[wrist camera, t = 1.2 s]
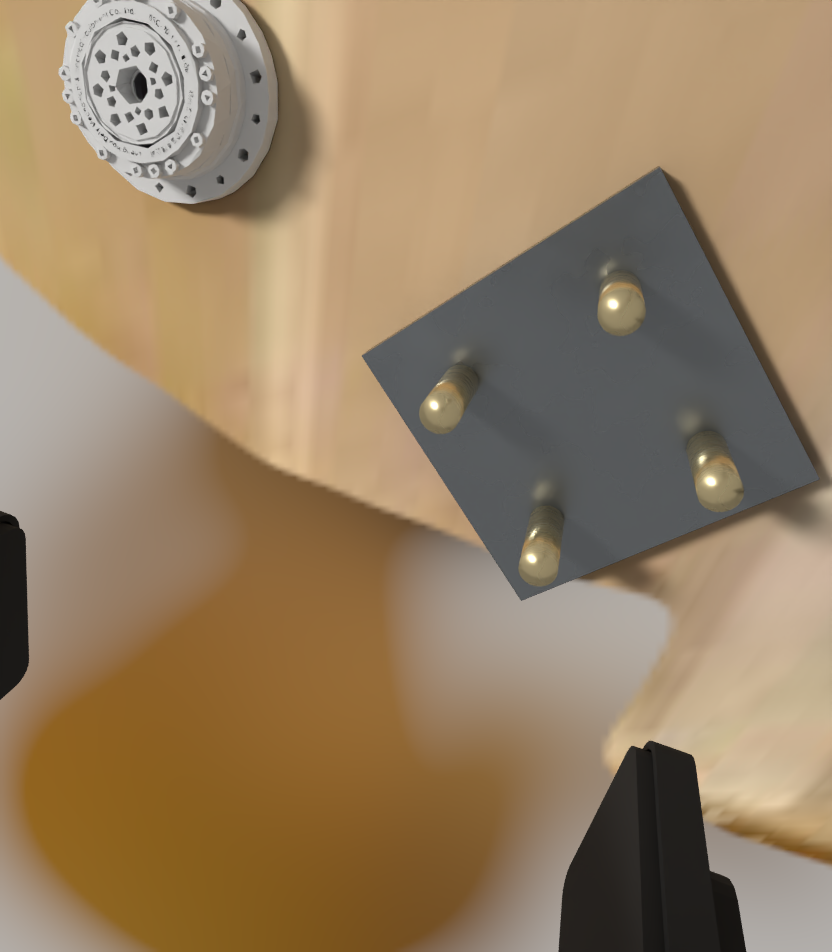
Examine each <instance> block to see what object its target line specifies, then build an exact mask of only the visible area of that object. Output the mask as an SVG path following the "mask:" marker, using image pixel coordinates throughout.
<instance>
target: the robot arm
mask: <svg viewBox="0 0 832 952" xmlns="http://www.w3.org/2000/svg"><path fill="white" fill-rule="evenodd" d="M28 663H29V646H28V613H27V575H26V538H25V533H24V531H23V530H22V529H20V528H19V522H18V521H17V519H16V518H15V517H14V516H12V515H10V514H7V513H4V512H2V511H0V700H1V699H2V698H3V697H4V696H5V695H6V694H7V693H8V692H10V691H11V690H12V689H13V688H14V687H15V686H16V685H17V684H18V683H19V682H20V681H21V679H22V678H23V676H24V674H25V672H26V671H27V667H28ZM559 952H746V947H745V941H744V935H743V929H742V923H741V918H740V911H739V905H738V900H737V896H736V892H735V888H734V886H733V884H732V883H731V881H730V879H728V878H727V877H725V876H722V875H720V874H717V873H714V872H711V871H710V870H709V862H708V854H707V847H706V839H705V832H704V824H703V817H702V810H701V802H700V795H699V787H698V780H697V772H696V765H695V761H694V758H693V756H692V755H690V754H688V753H685V752H682V751H679V750H676V749H673V748H671V747H668V746H665V745H662V744H659V743H656V742H654V741H649V742H647V743H646V745H645V746H644V748H643V749H641V748H638V747H635V746H631V747H630V748H629V750H628V751H627V753H626V755H625V757H624V759H623V761H622V763H621V765H620V767H619V769H618V771H617V773H616V775H615V777H614V779H613V781H612V783H611V785H610V787H609V789H608V791H607V793H606V795H605V797H604V799H603V801H602V803H601V805H600V807H599V809H598V811H597V813H596V815H595V817H594V819H593V821H592V823H591V825H590V827H589V829H588V831H587V833H586V835H585V837H584V839H583V841H582V843H581V845H580V847H579V849H578V851H577V853H576V855H575V857H574V859H573V861H572V862H571V865H570V867H569V869H568V872H567V875H566V879H565V883H564V888H563V895H562V909H561V923H560V938H559Z"/></svg>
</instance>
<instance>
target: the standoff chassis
mask: <svg viewBox="0 0 832 952" xmlns="http://www.w3.org/2000/svg"><path fill="white" fill-rule="evenodd" d="M362 357H363V359H364V360H365V362H366V363H367V365H368V366H369V368H370V369H371V371H372V373H373V374H374V376H375V377H376V379H377V380H378V382H379V383H380V385H381V386H382V388H383V389H384V391H385V392H386V394H387V396H388V397H389V399H390V400H391V402H392V403H393V405H394V406H395V408H396V409H397V411H398V412H399V414H400V416H401V417H402V419H403V420H404V422H405V423H406V425H407V426H408V428H409V429H410V431H411V432H412V434H413V435H414V437H415V439H416V440H417V442H418V443H419V445H420V446H421V448H422V449H423V451H424V452H425V454H426V455H427V457H428V458H429V460H430V462H431V463H432V465H433V466H434V468H435V469H436V471H437V472H438V474H439V475H440V477H441V478H442V480H443V482H444V483H445V485H446V486H447V488H448V489H449V491H450V492H451V494H452V495H453V497H454V498H455V500H456V501H457V503H458V505H459V506H460V508H461V509H462V511H463V512H464V514H465V515H466V517H467V518H468V520H469V521H470V523H471V524H472V526H473V528H474V529H475V531H476V532H477V534H478V535H479V537H480V538H481V540H482V541H483V543H484V544H485V546H486V548H487V549H488V551H489V552H490V554H491V555H492V557H493V558H494V560H495V561H496V563H497V564H498V566H499V567H500V569H501V571H502V572H503V573H504V575H505V577H506V578H507V580H508V581H509V583H510V584H511V586H512V587H513V589H514V590H515V592H516V594H517V595H518V597H519V598H520V600H521V601H522V600H525V599H527V598H529V597H532V596H534V595H537V594H539V593H542V592H544V591H547V590H549V589H551V588H554V587H556V586H559V585H561V584H564V583H566V582H569V581H571V580H574V579H576V578H579V577H581V576H583V575H586V574H588V573H591V572H593V571H596V570H598V569H601V568H603V567H606V566H608V565H610V564H613V563H615V562H618V561H620V560H623V559H625V558H628V557H630V556H633V555H635V554H637V553H640V552H642V551H645V550H647V549H650V548H652V547H655V546H657V545H660V544H662V543H664V542H667V541H669V540H672V539H674V538H677V537H679V536H682V535H684V534H687V533H689V532H691V531H694V530H696V529H699V528H701V527H704V526H706V525H709V524H711V523H714V522H716V521H718V520H721V519H723V518H726V517H728V516H731V515H733V514H736V513H738V512H741V511H743V510H745V509H748V508H750V507H753V506H755V505H758V504H760V503H763V502H765V501H768V500H770V499H772V498H775V497H777V496H780V495H782V494H785V493H787V492H790V491H792V490H795V489H797V488H799V487H802V486H804V485H807V484H809V483H812V482H814V481H817V480H819V477H818V475H817V473H816V471H815V469H814V467H813V465H812V463H811V461H810V459H809V457H808V455H807V453H806V451H805V449H804V447H803V445H802V444H801V442H800V440H799V438H798V436H797V434H796V432H795V430H794V428H793V426H792V424H791V422H790V420H789V418H788V416H787V414H786V412H785V410H784V408H783V406H782V404H781V403H780V401H779V399H778V397H777V395H776V393H775V391H774V389H773V387H772V385H771V383H770V381H769V379H768V377H767V375H766V373H765V371H764V369H763V367H762V365H761V363H760V361H759V360H758V358H757V356H756V354H755V352H754V350H753V348H752V346H751V344H750V342H749V340H748V338H747V336H746V334H745V332H744V330H743V328H742V326H741V324H740V322H739V320H738V318H737V317H736V315H735V313H734V311H733V309H732V307H731V305H730V303H729V301H728V299H727V297H726V295H725V293H724V291H723V289H722V287H721V285H720V283H719V281H718V279H717V277H716V276H715V274H714V272H713V270H712V268H711V266H710V264H709V262H708V260H707V258H706V256H705V254H704V252H703V250H702V248H701V246H700V244H699V242H698V240H697V238H696V236H695V234H694V233H693V231H692V229H691V227H690V225H689V223H688V221H687V219H686V217H685V215H684V213H683V211H682V209H681V207H680V205H679V203H678V201H677V199H676V197H675V195H674V193H673V191H672V190H671V188H670V186H669V184H668V182H667V180H666V178H665V176H664V174H663V172H662V170H661V168H660V167H659V166H658V167H657V168H655V169H653V170H652V171H650V172H649V173H647V174H646V175H644V176H642V177H641V178H639V179H638V180H636V181H635V182H633V183H631V184H630V185H628V186H627V187H625V188H623V189H622V190H620V191H619V192H617V193H616V194H614V195H612V196H611V197H609V198H608V199H606V200H605V201H603V202H601V203H600V204H598V205H597V206H595V207H594V208H592V209H590V210H589V211H587V212H586V213H584V214H583V215H581V216H579V217H578V218H576V219H575V220H573V221H571V222H570V223H568V224H567V225H565V226H564V227H562V228H560V229H559V230H557V231H556V232H554V233H553V234H551V235H549V236H548V237H546V238H545V239H543V240H542V241H540V242H538V243H537V244H535V245H534V246H532V247H530V248H529V249H527V250H526V251H524V252H523V253H521V254H519V255H518V256H516V257H515V258H513V259H512V260H510V261H508V262H507V263H505V264H504V265H502V266H501V267H499V268H497V269H496V270H494V271H493V272H491V273H490V274H488V275H486V276H485V277H483V278H482V279H480V280H478V281H477V282H475V283H474V284H472V285H471V286H469V287H467V288H466V289H464V290H463V291H461V292H460V293H458V294H456V295H455V296H453V297H452V298H450V299H449V300H447V301H445V302H444V303H442V304H441V305H439V306H438V307H436V308H434V309H433V310H431V311H430V312H428V313H426V314H425V315H423V316H422V317H420V318H419V319H417V320H415V321H414V322H412V323H411V324H409V325H408V326H406V327H404V328H403V329H401V330H400V331H398V332H397V333H395V334H393V335H392V336H390V337H389V338H387V339H385V340H384V341H382V342H381V343H379V344H378V345H376V346H374V347H373V348H371V349H370V350H368V351H367V352H366V353H365V354H363V355H362Z"/></svg>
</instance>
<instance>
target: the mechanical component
mask: <svg viewBox="0 0 832 952" xmlns="http://www.w3.org/2000/svg"><path fill="white" fill-rule="evenodd" d="M65 28H66V31H67V34H68V36H67V38H66V43H65V51H64V60H63V66H62V67H60V68H59V75H60V77H61V78H62V80H64V84H65V90H64V91H63V93H62V96H63V99H64V101H65V102H66V103H69V105H70V108H71V111H72V113H70V119H71V121H72V123H74V124H76V125H78V127H79V129H80V130H81V132H82V133H83V135H84V136H85V138H86V140H87V141H88V143H89V144H90V145H91V146H92V147H93V148H94V150H95V151H96V153H97V155H98V158H100V159H102V160H107V161H108V162H109V163H110V165H111V166H112V167H113V168H114V169H115V170H116V171H117V172H119V173H120V174H121V175H122V176H123V177H124V178H125V179H126V180H128V181H129V182H130V183H131V184H132V185H133V186H134V187H135V188H136V189H138V190H140V191H142V192H144V193H147V194H149V195H151V196H153V197H156V198H158V199H160V200H162V201H165V202H176V203H188V204H195V203H200V202H205V201H211V200H216V199H220V198H222V197H225V196H227V195H229V194H231V193H233V192H235V191H236V190H237V189H239V188H240V187H241V186H242V185H243V184H244V183H246V182H247V181H248V180H249V179H250V178H251V177H253V176H254V174H255V172H256V171H257V169H258V167H259V166H260V164H261V162H262V161H263V159H264V157H265V156H266V154H267V152H268V151H269V148H270V144H271V141H272V138H273V134H274V131H275V127H276V124H277V120H278V82H277V77H276V73H275V68H274V63H273V59H272V55H271V52H270V50H269V47H268V45H267V42H266V40H265V37H264V35H263V32H262V31H261V29H260V28H259V26H258V24H257V23H256V21H255V20H254V18H253V17H252V15H251V14H250V12H249V11H248V9H247V7H246V6H245V5H244V4H243V3H242V2H241V1H240V0H88V1H87V2H86V3H85V4H84V6H83V7H82V8H81V10H80V11H79V12H78V14H77V15H76V16H75V18H74V20H73V21H70V22H69V23H68V24H67V25H66V26H65ZM260 76H262V78H261V80H260ZM247 153H248V154H247Z"/></svg>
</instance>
